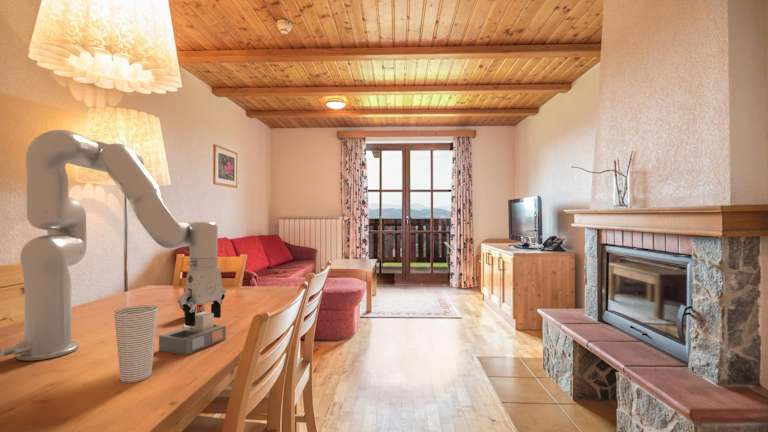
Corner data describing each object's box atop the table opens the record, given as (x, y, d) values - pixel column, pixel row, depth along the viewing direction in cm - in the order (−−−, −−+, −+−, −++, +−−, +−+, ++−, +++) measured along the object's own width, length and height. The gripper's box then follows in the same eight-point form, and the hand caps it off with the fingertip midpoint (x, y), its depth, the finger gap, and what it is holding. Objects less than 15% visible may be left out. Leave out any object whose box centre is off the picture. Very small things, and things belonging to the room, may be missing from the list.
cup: (109, 388, 83) (109, 315, 83) (118, 373, 91) (118, 307, 91) (154, 381, 86) (155, 312, 86) (160, 367, 94) (160, 304, 94)
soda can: (199, 319, 139) (199, 285, 139) (179, 318, 139) (179, 285, 139) (208, 314, 146) (208, 282, 146) (189, 314, 146) (190, 282, 146)
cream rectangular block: (203, 343, 112) (203, 316, 112) (192, 342, 113) (192, 315, 113) (213, 339, 116) (213, 313, 116) (203, 338, 117) (203, 311, 117)
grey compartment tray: (187, 355, 103) (187, 340, 103) (158, 350, 106) (159, 335, 106) (226, 339, 116) (226, 325, 116) (200, 335, 119) (200, 322, 119)
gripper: (189, 267, 105) (189, 330, 105) (234, 260, 121) (234, 315, 121) (168, 266, 108) (168, 327, 108) (215, 259, 124) (215, 313, 124)
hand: (203, 321), depth 114 cm, fingers open, 9 cm apart
